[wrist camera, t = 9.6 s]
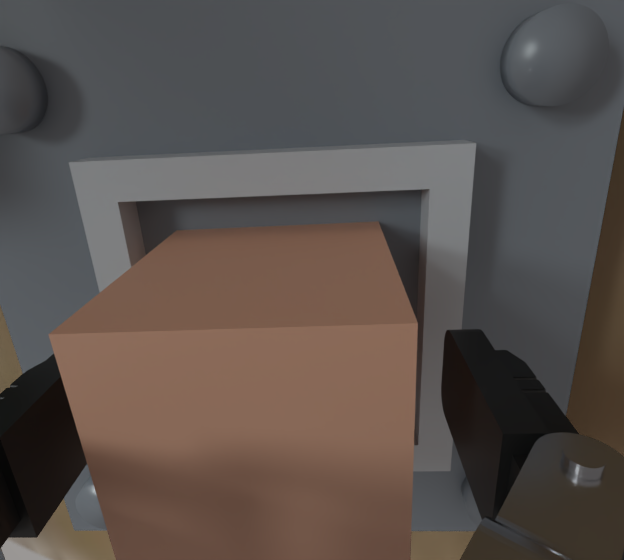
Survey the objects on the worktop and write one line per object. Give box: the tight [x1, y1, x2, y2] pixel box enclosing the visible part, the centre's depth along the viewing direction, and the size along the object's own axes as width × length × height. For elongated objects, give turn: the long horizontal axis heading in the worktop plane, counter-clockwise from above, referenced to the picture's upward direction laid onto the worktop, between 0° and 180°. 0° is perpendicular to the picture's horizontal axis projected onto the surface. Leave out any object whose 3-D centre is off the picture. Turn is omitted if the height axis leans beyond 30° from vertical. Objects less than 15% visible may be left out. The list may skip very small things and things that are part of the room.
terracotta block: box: [48, 221, 418, 560], centre depth 10 cm, size 6×6×6 cm
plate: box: [0, 0, 624, 531], centre depth 13 cm, size 17×17×2 cm
